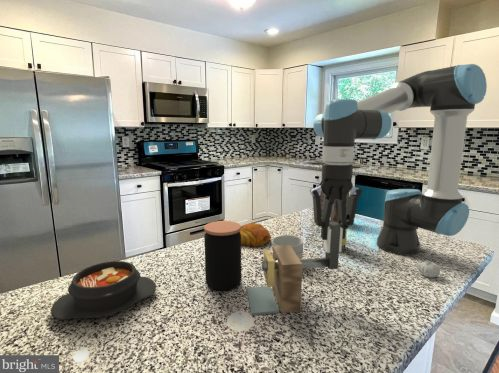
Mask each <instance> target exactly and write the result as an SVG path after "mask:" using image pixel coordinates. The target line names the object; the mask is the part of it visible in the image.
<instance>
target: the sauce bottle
mask: <svg viewBox="0 0 499 373" xmlns="http://www.w3.org/2000/svg"><path fill="white" fill-rule="evenodd" d="M330 222H337V223H338V224H339V219H338V203H337V199H335V200H334V210H333V212H332V213H331V216H330ZM347 230H348V228H347V229H346V233H345V239H342V249H341V251H343V250H345V249H346V245H347Z"/></svg>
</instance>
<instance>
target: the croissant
mask: <svg viewBox="0 0 499 373" xmlns="http://www.w3.org/2000/svg"><path fill="white" fill-rule="evenodd" d="M240 233H241V246H248V247H249V246H251V247H260V246H263V245H266V244H268V243H269V242H270V240H271V239H272V235H271V233H270V232H269V230H268V229H267V228H266V227H265V226H263V225H262V224H260V223H256V222H251V223H250V222H249V223H246V224H244V225H241V230H240Z"/></svg>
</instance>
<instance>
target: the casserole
mask: <svg viewBox="0 0 499 373" xmlns="http://www.w3.org/2000/svg"><path fill="white" fill-rule="evenodd" d="M156 290H157V284H156V283H155V281H154V280H153V279H151V278H150V277H147V276H141V272H140V270H138V269H137V268H136V266H135V265H134V264H133V263H131V262H129V261H125V260H124V261H122V260H113V261H112V260H111V261H106V262H100V263H96V264H94V265H93V264H92V265H91V266H88V267H85V268H84V269H81V270H80V271H78V272H77V273H76V274H74V276H73V277H72V280H71V283H70V284H69V285H68V288H67V291H68V292H67V293H66V294H64V295H61V296H60V297H58V299H57V300H55V302H54V303H53V305H51V309H50V314H51V316H52V318H54V319H56V320H61V321H64V320H73V319H84V318H85V319H94V318H95V319H96V318H102V317H107V316H110V315H111V316H112V315H113V314H117V313H119V312H121V311H122V312H123V311H124V310H126V309H128V308H129V307H131V306H133V305H134V304H136V303H138V302H140V301H142V300H145V299H147V298H149V297H151V296H152V295H154V294H155V291H156Z"/></svg>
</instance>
